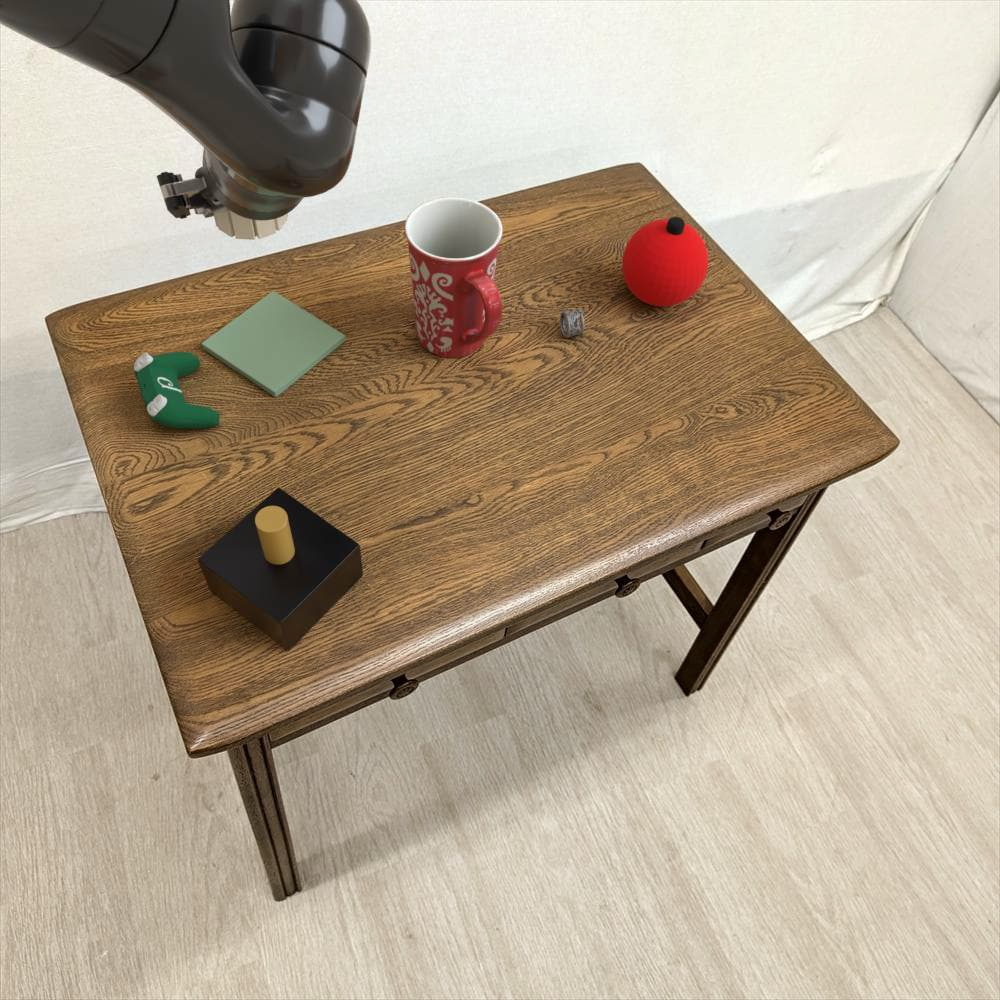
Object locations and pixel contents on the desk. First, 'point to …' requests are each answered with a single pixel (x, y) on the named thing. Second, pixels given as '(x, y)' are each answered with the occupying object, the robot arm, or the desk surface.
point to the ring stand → (282, 567)
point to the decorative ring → (571, 323)
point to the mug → (454, 274)
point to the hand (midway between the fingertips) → (244, 196)
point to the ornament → (665, 262)
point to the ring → (247, 225)
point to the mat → (273, 343)
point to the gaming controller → (171, 391)
